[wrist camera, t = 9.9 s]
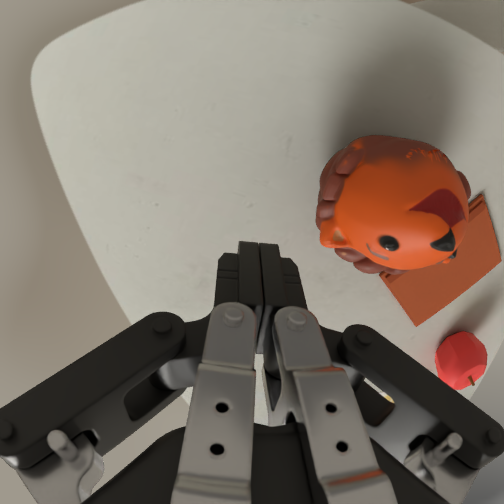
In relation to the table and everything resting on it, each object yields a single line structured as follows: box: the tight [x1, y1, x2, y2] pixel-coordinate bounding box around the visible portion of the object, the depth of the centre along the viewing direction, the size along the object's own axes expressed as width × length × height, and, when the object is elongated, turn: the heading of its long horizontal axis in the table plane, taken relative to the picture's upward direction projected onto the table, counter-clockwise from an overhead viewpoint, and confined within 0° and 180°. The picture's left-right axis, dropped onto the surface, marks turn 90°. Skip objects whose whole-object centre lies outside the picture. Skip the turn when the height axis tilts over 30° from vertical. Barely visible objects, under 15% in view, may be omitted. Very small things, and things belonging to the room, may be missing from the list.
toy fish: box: [316, 135, 471, 275], centre depth 20 cm, size 12×10×11 cm
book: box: [379, 194, 502, 327], centre depth 30 cm, size 14×11×1 cm
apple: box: [435, 331, 487, 390], centre depth 35 cm, size 8×8×8 cm
